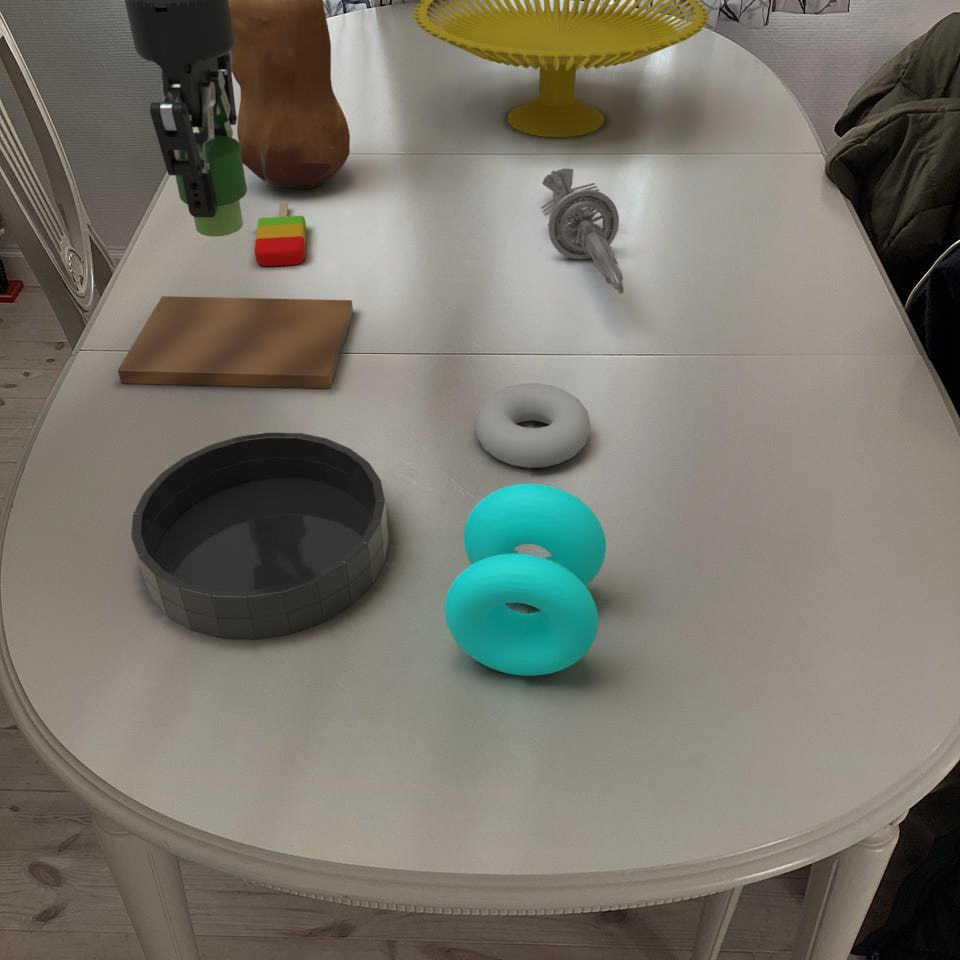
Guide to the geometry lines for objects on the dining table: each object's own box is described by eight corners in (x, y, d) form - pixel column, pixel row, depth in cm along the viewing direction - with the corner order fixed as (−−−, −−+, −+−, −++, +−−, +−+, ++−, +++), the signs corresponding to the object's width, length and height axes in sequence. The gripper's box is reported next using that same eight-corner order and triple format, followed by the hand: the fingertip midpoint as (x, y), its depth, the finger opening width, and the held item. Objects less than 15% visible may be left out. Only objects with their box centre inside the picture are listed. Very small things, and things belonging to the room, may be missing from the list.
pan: (110, 636, 72) (94, 592, 69) (184, 472, 86) (173, 429, 83) (370, 646, 71) (364, 601, 68) (401, 478, 85) (398, 435, 82)
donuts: (602, 586, 75) (612, 482, 68) (591, 693, 67) (601, 587, 61) (468, 571, 76) (466, 468, 70) (443, 674, 69) (438, 569, 62)
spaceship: (569, 270, 96) (647, 234, 95) (513, 162, 125) (573, 134, 124) (597, 338, 100) (672, 305, 99) (537, 219, 129) (595, 192, 128)
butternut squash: (323, 155, 138) (300, -47, 122) (371, 188, 130) (354, -25, 114) (228, 179, 132) (191, -30, 116) (272, 216, 124) (239, -5, 108)
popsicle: (255, 268, 113) (252, 253, 112) (262, 210, 125) (260, 196, 124) (305, 265, 114) (303, 250, 113) (307, 208, 125) (305, 193, 124)
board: (120, 383, 96) (117, 370, 95) (164, 308, 107) (161, 295, 106) (330, 388, 95) (328, 375, 94) (353, 312, 106) (352, 299, 105)
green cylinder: (178, 240, 86) (161, 160, 82) (197, 211, 90) (181, 134, 86) (243, 241, 86) (229, 161, 81) (259, 213, 90) (246, 135, 85)
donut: (564, 489, 84) (605, 421, 90) (566, 457, 81) (608, 390, 88) (455, 458, 87) (503, 395, 94) (454, 427, 85) (502, 364, 92)
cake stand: (544, 202, 126) (548, 79, 116) (362, 113, 150) (354, 4, 141) (755, 125, 145) (773, 13, 136) (564, 57, 170) (568, -42, 160)
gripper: (155, -39, 81) (195, 165, 92) (90, 12, 70) (144, 237, 81) (247, -39, 81) (276, 166, 92) (196, 12, 70) (236, 239, 81)
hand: (214, 198), depth 86 cm, fingers closed on green cylinder, 5 cm apart
